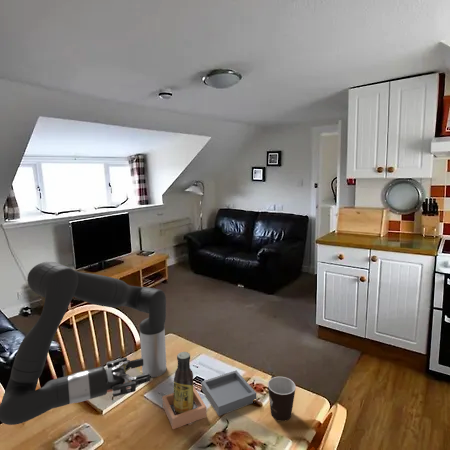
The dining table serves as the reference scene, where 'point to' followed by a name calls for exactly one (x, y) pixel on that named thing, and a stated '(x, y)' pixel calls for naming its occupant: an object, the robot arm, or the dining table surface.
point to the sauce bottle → (183, 384)
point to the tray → (228, 392)
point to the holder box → (186, 416)
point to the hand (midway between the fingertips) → (146, 368)
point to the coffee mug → (281, 397)
